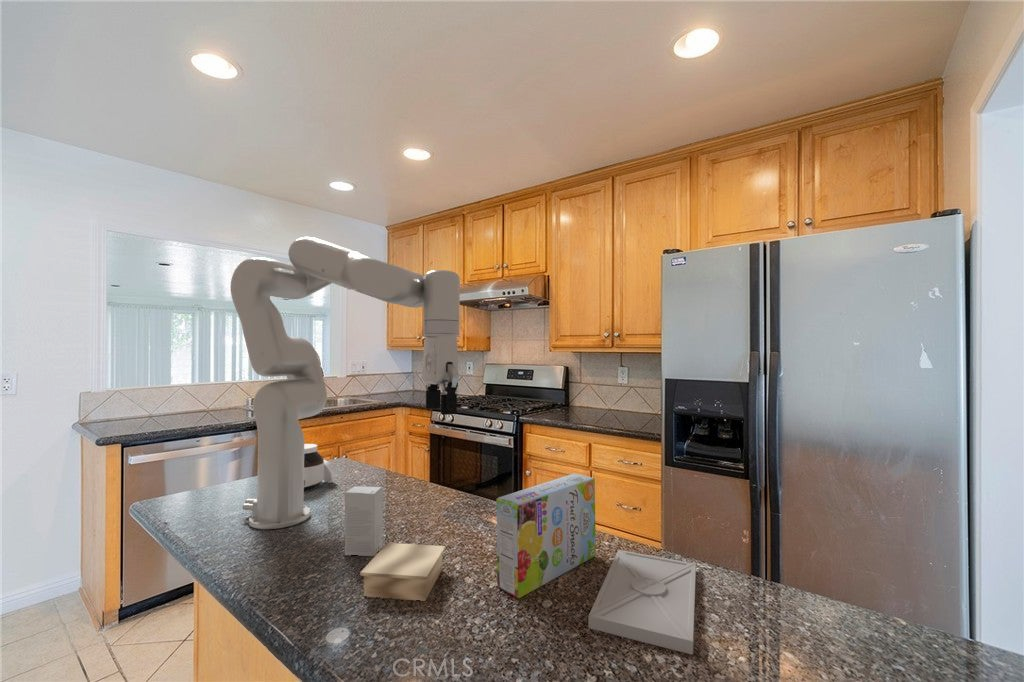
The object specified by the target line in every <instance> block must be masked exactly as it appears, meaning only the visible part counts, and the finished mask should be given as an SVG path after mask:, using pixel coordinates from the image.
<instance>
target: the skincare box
mask: <svg viewBox="0 0 1024 682" xmlns="http://www.w3.org/2000/svg"><path fill="white" fill-rule="evenodd" d="M382 548H383V487H382V486H363V485H362V486H361V485H360V486H357V485H356V486H355V485H354V486H352V488H350V489H348V490H347V491H345V492H344V556H351V555H358V556H359V557H375V556H376V555H377V554H378V553H377V552H378V551H380V550H381V549H382Z"/></svg>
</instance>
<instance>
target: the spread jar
mask: <svg viewBox="0 0 1024 682" xmlns="http://www.w3.org/2000/svg"><path fill="white" fill-rule="evenodd" d="M336 477H337V476H336V471H335V469H334V467H333V466H332V464H331V463H330V462H329V461H328V460H326V459H324V458H323V456H322V455H321V453H319V452H318V444H315V443H304V492H308V491H307V490H309V491H312V490H311V489H313V490H315V489H317V487H319V486H320V485H321V484H322V482H323V481H324V483H327V482H328V483H327V484H331V483H333V482H334V481H335V480H336ZM314 488H315V489H314Z"/></svg>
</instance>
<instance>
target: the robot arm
mask: <svg viewBox="0 0 1024 682" xmlns="http://www.w3.org/2000/svg"><path fill="white" fill-rule="evenodd" d="M287 252H288V254H287V255H288V259H289V261H290V263H288V262H284V261H282V260H281V261H280V260H277V259H272V258H266V257H258V256H257V257H256V256H255V257H249V258H247V259H245V260H243V261H241V262H240V263H239V264H238V265H237V267H236V268H235V269H234V270H233V273H232V275H231V279H230V280H231V281H230V295H231V299H232V302H233V305H234V308H235V310H236V313H237V315H238V318H239V320H240V324H241V328H242V334H243V337H244V341H245V345H246V349H247V353H248V358H249V361H250V365H251V368H252V369H253V371H254V372H255V374H257V375H259V376H261V377H271V378H272V377H273V378H274V377H286V379H287V380H278V381H273V382H270V383H267V384H265V385H263V386H262V387H261V388H259V389H258V390H257V392H256V393H255V395H254V396H253V397H254V398H253V404H252V406H253V407H252V408H253V413H254V417H255V418H254V419H255V423H256V428H257V430H256V431H257V486H256V487H257V489H256V491H257V492H256V494H257V495H256V498H246V499H245V501H244V504H243V505H242V510H243V511H251V513H252V514H251V515H250V516H249V518H248V525H249V526H250V527H252V528H254V529H258V530H273V529H274V530H275V529H283V528H288V527H292V526H294V525H295V526H296V525H299V524H301V523H303V522H305V521H306V520H308V519H309V518H310V516H311V512H312V511H311V508H310V507H309V506H306V505H305V503H304V500H305V497H304V496H305V495H304V494H305V493H304V492H305V491H304V444H305V437H304V436H305V435H304V433H303V430H302V427H301V425H300V422H299V420H301V419H305V418H310V417H314V416H316V415H318V414H320V413H322V411H323V410H324V408H325V407H326V404H327V400H328V394H327V393H328V392H327V387H326V383H325V378H324V375H323V371H322V368H321V364H320V360H319V355H318V354H317V351H316V349H315V348H314V346H313V344H312V343H311V342H309V341H308V339H305V338H302V337H298V336H289V335H288V334H287V332H286V329H285V325H284V321H283V317H282V315H281V313H280V311H279V310H278V308H277V306H276V305H275V304H274V303H273V302H272V300H271V297H275V298H281V299H287V300H300V299H305V298H306V297H309V296H311V295H313V294H315V293H317V292H318V291H320V290H322V289H324V288H326V287H328V286H329V285H331V284H335V285H337V286H339V287H343V288H346V289H348V290H350V291H351V290H352V291H355V292H357V293H360V294H363V295H365V296H369V297H371V298H374V299H377V300H380V301H383V302H385V303H389V304H393V305H398V306H403V307H408V308H414V309H415V308H416V309H417V308H423V324H422V325H423V327H422V328H423V329H422V332H423V337H425V338H424V345H423V352H422V353H423V354H422V367H421V368H422V369H421V371H422V372H421V379H422V381H423V382H424V383H426V384H425V408H426V409H428V410H430V409H432V410H433V409H440V414H441V415H443V416H447V415H456V414H457V412H458V411H457V410H458V408H457V407H458V387H459V383H458V382H459V377H460V375H459V352H458V351H459V350H458V349H459V348H458V338H459V337H460V306H461V305H460V303H461V301H460V300H461V299H460V297H461V296H460V294H461V292H460V291H461V290H460V289H461V283H460V281H461V280H460V276H459V274H458V273H457V272H454V271H452V270H444V269H435V270H430V271H427V272H425V274H420V273H417V272H415V271H412V270H409V269H406V268H404V267H400V266H397V265H394V264H391V263H388V262H384V261H381V260H378V259H375V258H372V257H369V256H367V255H364V254H363V253H362V252H360V251H357V250H355V249H354V250H353V249H351V248H348V247H345V246H341V245H338V244H335V243H332V242H328V241H327V240H323V239H320V238H317V237H313V236H312V237H310V236H304V237H300V238H297V239H295V240H294V241H293V242H292V243H291V244H290V246H289V249H288V251H287ZM440 387H441V389H440ZM441 392H442V393H441Z"/></svg>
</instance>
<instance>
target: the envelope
mask: <svg viewBox="0 0 1024 682" xmlns="http://www.w3.org/2000/svg"><path fill="white" fill-rule="evenodd" d="M696 564H697V563H694V562H688V561H682V560H678V559H677V560H676V559H672V558H666V557H660V556H657V555H649V554H645V553H639V552H633V551H628V550H623V549H617V552H616V554H615V556H614V558H613V560H612V563H611V565H610V566H609V569H608V571H607V574H606V576H605V578H604V580H603V583H602V584H601V587H600V589H599V591H598V594H597V596H596V598H595V601H594V603H593V605H592V608H591V610H590V612H589V614H588V618H587V619H588V623H587V624H588V627H587V628H588V629H589V630H590V629H591V630H595V631H599V632H602V633H606V634H609V635H613V636H619V637H621V638H626V639H629V640H633V641H638V642H640V643H641V642H642V643H645V644H648V645H649V644H650V645H653V646H655V647H656V646H657V647H661V648H664V649H665V648H666V649H669V650H673V651H675V652H681V653H684V654H687V655H688V654H689V655H694V634H695V632H694V631H695V605H696V603H695V602H696V573H697V572H696V571H697V566H696Z"/></svg>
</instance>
